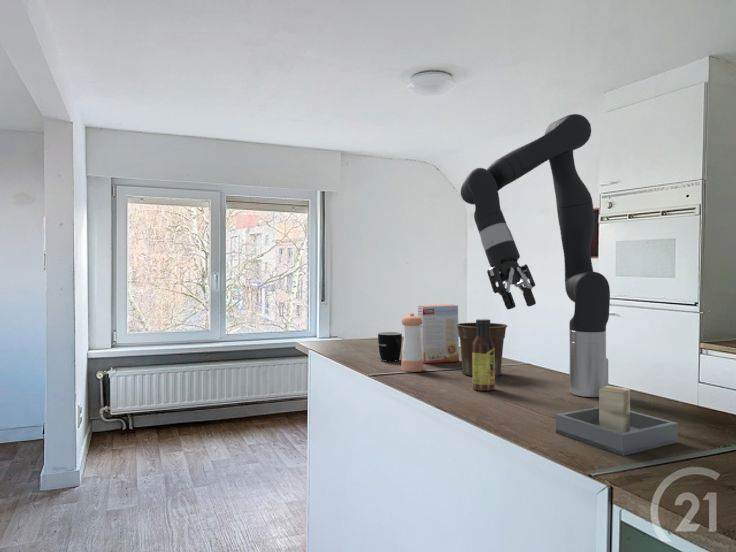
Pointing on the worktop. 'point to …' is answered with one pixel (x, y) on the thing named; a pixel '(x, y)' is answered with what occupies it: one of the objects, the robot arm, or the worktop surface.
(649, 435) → the box
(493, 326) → the plant pot
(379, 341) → the mug
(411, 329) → the pepper shaker
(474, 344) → the sauce bottle
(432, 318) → the cracker box
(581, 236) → the robot arm
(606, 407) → the maple block
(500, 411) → the worktop surface
